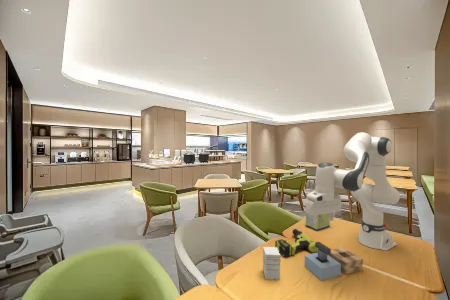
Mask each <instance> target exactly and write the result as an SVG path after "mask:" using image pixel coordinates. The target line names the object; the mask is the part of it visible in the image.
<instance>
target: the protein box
mask: <svg viewBox="0 0 450 300" xmlns="http://www.w3.org/2000/svg"><path fill="white" fill-rule="evenodd" d="M330 214H331V213H327V214H320V215H317V217H316V218H317V219H318V220H319V221H318V223H314V219H313V217H312V216H311V215H308V214H307V213H306V212H305V227H306V228H309V229H311V230H313V231H315V232H318V231H322V230H326V229H328V228H330V222H331V221H330V220H329V218H328V217H329V216H330Z"/></svg>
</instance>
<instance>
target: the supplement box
mask: <svg viewBox="0 0 450 300" xmlns="http://www.w3.org/2000/svg"><path fill="white" fill-rule="evenodd" d="M262 249H263V250H262V251H263V252H262V272H263V275H264V279H265V280H274V279H275V280H281V254H280V253H279V251H278V249H277V247H275V246H263V247H262Z"/></svg>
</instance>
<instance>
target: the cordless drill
mask: <svg viewBox="0 0 450 300" xmlns="http://www.w3.org/2000/svg"><path fill="white" fill-rule="evenodd" d="M292 234H293V236H295V240H294V241H295V242H294V243H293V244H292V243H291V241H288V240H285V239H283V238H281V239H278V240H275V243H274V244H275V245H274V247H277V249H278V251H279V252H280V256H282V257H283V258H284V257H285V259H286V258H289V257H290V256H293V255H295V254H296V253H295V252H296V251H298V250H299V249H302V248H305V249H307V250H308V251H309V252H311V253H312V254H313V253H317V252H318V248H316V247H315V241H314V240H313V238H311V237H309V236H308V235H307V234H306V233H305V232H302V231H300V230H299V229H296V228H294V229H293V230H292Z"/></svg>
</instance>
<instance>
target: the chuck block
mask: <svg viewBox="0 0 450 300" xmlns="http://www.w3.org/2000/svg"><path fill="white" fill-rule="evenodd" d="M317 259H318V252H314V253H313V252H312V253H310V254H305V255H304V262H303V263H304V265H303V266H304V267H305V268H306V269H307V270H308V271H309V272H311V273H312V274H313V275H314V276H315V277H317V278H318V280H319V281H324V280H329V279H331V278H336V277H340V276H341V273H342V272H341V264H340V263H339V262H337V261H336V260H334V259H333V258H331V257H330V256H328V255H327V262H324V263H321V262H320V261H319V260H317Z"/></svg>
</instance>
